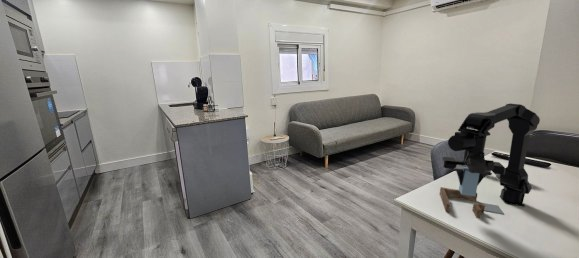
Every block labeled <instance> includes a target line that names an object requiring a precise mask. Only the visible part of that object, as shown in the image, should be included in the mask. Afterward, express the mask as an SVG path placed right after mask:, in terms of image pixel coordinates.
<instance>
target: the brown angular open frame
mask: <svg viewBox="0 0 579 258" xmlns="http://www.w3.org/2000/svg"><path fill="white" fill-rule="evenodd" d="M439 196H440V199H441V202H442V205H443V207H444V211H445V213H450V209H451V203H450V200H449V197H450V198H455V199H460V200H461V199H462V200H465V201H466V200H468V201H473V204H472V209H471V210H472V213H473V214H474V217H475V218H476V219H481V216H482V215H481V214H485V211H484V209H485V205H484V204H479V202H478V203H477V198H478V193H477V192H476V196H468V195H462V194H461V193H460V191H459V189H456V188H449V187H448V188H447V187H440V189H439Z"/></svg>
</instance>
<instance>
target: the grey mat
mask: <svg viewBox="0 0 579 258" xmlns="http://www.w3.org/2000/svg"><path fill="white" fill-rule="evenodd" d="M478 203H479V204H484V205H485V209H484V212H489V213H494V214H498V215H499V214H500V215H505V213H504V211H503V210H502V209H501V207H500V206H499V205H497V204H492V203H485V202H478Z"/></svg>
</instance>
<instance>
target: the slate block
mask: <svg viewBox="0 0 579 258" xmlns="http://www.w3.org/2000/svg"><path fill="white" fill-rule="evenodd" d="M462 169H463V171H464V172H463V179H462V185H460V184H459V185H458V190H459V191H460V193H461V194H462V195H468V196H476V193H477V191H478V186H479V185H478V180H479V174H480V173H471V172H469V169H468V167H463V166H462ZM477 185H478V186H477Z"/></svg>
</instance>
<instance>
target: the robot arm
mask: <svg viewBox="0 0 579 258" xmlns="http://www.w3.org/2000/svg"><path fill="white" fill-rule="evenodd" d="M505 120H507V121H508V128H509V130H510V132H511V133H512V135H511V136H512V138H511V143H510V150H509V156H508V164H507V166H506V167H505V166H504V165H502V163H501V162H499V161H494V160H490V159H485V146H486V141H487V137H489V136H491V133H490V132H489V131H490V130H492V129H493V128H495V124H498V123H500V122H503V121H505ZM540 121H541V120H540V117H539V115H537V113H536V112H535V111H532V110H530V109H528V108H527V107H526V106H525V105H523V104H518V103H505V105H503V106H500V107H497V108H495V109H492V110H489V111H484V112H472V113H469V114H468V115H467V116H466V117H465V119H464V120H463V122H462V123H461V125H460V126H459V127H458V129H457V131H456V132H454V135H451V136H450V137H449V139H448V140H447V145H448V147H449V149H451V150H452V151H454V152H460V151H463V157H462V161H461V160H456V159H455V158H454V157H451V156H443V157H442V158H441V161H440V163H441V165H442V167H443V168H445V169H451V170H453V171H455V172H456V175H457V178H458V182H459V183H458V184H459V185H462V179H463V172H464V171H463V169H462V166H463V167H468V169H469V172H471V173H480V174H479V180H478V185H477V187H478V186H480V185H479V184H480V183H481V182H482V180H483V179H484V178H485V177H487V176H491V175H493V174H494V175H495V174H501V175H500V178H499V185H500V186H502V187H503V188H502V189H501V191H500V195H499V197H500V199H501V200H502V201H503V203H504V204H508V205H513V206H519V207H520V206H521V207H525V204H524V203H523V202H524V200H525V197H526V196H525V195H526V194H527V195H529V194H530V193H531V191H532V185H531V184H530V182H529V175H528V172H527V171H526V169H525V163H526V158H527V152H528V146H529V139H530V135H531V134H533V133H534V132H535V131H536V130H537V129H538V125H539V124H540Z"/></svg>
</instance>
